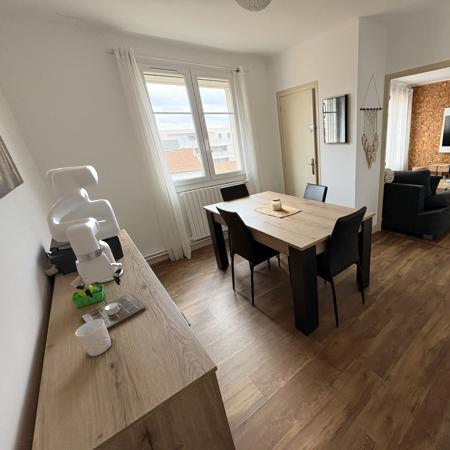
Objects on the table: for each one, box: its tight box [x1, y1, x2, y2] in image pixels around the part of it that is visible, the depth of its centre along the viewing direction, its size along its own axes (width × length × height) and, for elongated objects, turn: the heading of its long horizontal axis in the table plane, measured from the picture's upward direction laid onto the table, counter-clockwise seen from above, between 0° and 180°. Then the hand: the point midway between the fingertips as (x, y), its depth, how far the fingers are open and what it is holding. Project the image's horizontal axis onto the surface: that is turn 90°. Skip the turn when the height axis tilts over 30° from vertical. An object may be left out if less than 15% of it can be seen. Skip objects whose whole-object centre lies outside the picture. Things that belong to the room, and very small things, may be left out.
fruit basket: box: [70, 283, 105, 308], centre depth 111 cm, size 11×9×11 cm
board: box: [81, 293, 146, 332], centre depth 104 cm, size 18×18×1 cm
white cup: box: [74, 319, 112, 357], centre depth 86 cm, size 8×8×10 cm
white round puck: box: [105, 303, 120, 315], centre depth 103 cm, size 4×4×3 cm
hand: (105, 290), depth 100 cm, fingers open, 9 cm apart
